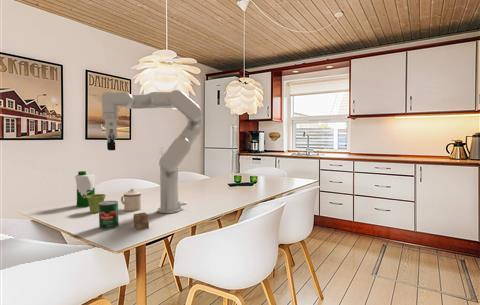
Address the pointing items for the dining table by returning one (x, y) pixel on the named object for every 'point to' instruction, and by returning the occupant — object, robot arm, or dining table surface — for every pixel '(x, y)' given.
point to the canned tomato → (108, 215)
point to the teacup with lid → (132, 200)
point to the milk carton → (84, 188)
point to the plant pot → (95, 201)
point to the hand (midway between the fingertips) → (111, 149)
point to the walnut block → (141, 221)
